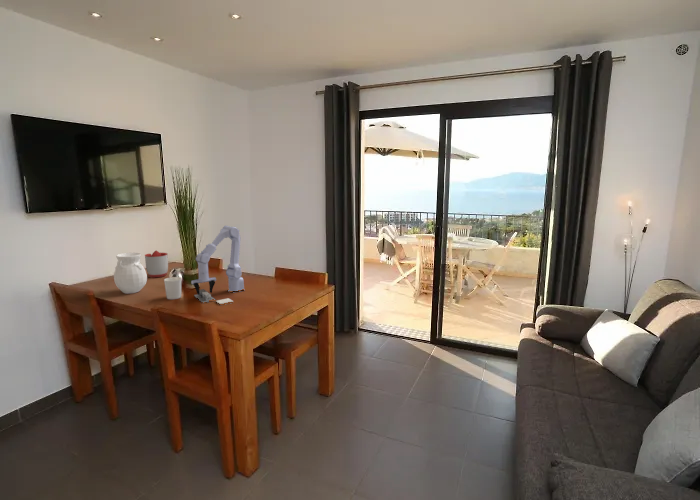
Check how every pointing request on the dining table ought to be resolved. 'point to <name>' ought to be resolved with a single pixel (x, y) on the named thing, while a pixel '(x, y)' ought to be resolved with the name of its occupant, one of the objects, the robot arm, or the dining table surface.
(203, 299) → the mat
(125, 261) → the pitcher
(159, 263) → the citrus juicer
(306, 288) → the dining table surface
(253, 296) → the dining table surface
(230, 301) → the tile
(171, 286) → the candle holder
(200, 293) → the two-tone grey bar
